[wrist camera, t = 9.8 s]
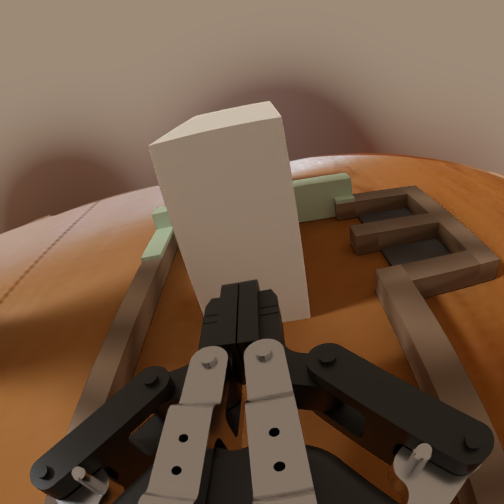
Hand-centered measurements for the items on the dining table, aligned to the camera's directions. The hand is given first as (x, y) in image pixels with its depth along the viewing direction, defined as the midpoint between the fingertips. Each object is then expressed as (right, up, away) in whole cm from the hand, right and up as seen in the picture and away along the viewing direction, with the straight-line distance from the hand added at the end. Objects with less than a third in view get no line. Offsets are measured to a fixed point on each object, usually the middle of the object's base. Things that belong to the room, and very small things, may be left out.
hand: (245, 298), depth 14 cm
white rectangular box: (+1, 0, +14) cm, 14 cm away
